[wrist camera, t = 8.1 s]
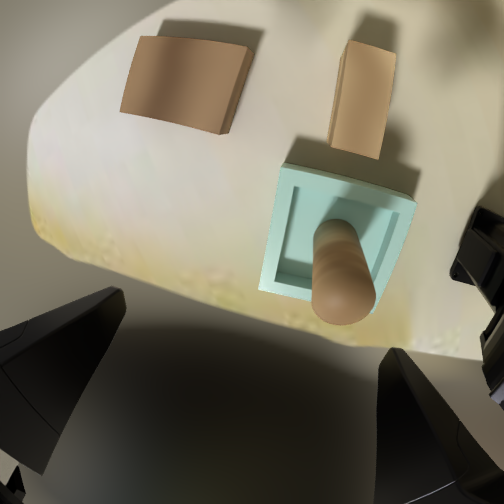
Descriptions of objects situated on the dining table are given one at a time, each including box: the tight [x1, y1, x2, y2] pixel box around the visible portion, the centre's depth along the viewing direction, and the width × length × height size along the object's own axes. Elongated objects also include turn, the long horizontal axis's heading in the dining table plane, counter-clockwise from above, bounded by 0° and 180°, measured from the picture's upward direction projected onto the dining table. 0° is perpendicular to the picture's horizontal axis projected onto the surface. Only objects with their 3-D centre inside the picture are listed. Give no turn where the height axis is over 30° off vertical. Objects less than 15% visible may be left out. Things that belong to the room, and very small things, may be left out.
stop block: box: [326, 40, 396, 160], centre depth 13 cm, size 2×6×4 cm, turn 172°
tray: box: [259, 163, 417, 314], centre depth 18 cm, size 9×9×2 cm
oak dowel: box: [311, 219, 376, 325], centre depth 15 cm, size 3×3×7 cm
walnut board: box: [120, 36, 254, 135], centre depth 15 cm, size 8×6×2 cm
